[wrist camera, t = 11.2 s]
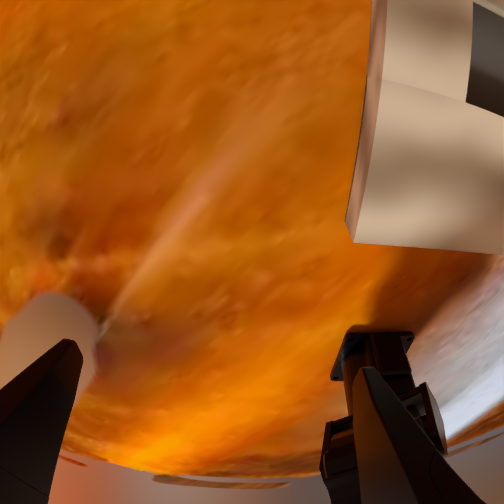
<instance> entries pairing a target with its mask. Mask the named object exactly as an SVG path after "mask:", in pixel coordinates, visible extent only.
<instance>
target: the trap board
mask: <svg viewBox="0 0 504 504" xmlns="http://www.w3.org/2000/svg"><path fill="white" fill-rule="evenodd" d="M345 223H346V226H347V228H348V230H349V233H350V235H351V238H352V240H353V242H354V243H367V244H380V245H393V246H405V247H417V248H429V249H441V250H452V251H464V252H475V253H485V254H496V255H504V0H372V15H371V32H370V46H369V59H368V70H367V80H366V89H365V98H364V106H363V114H362V122H361V129H360V136H359V143H358V150H357V156H356V162H355V168H354V174H353V180H352V186H351V191H350V197H349V202H348V208H347V213H346V218H345Z"/></svg>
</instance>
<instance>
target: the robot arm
mask: <svg viewBox="0 0 504 504" xmlns="http://www.w3.org/2000/svg"><path fill="white" fill-rule="evenodd" d="M350 338H351V339H350ZM414 338H415V337H414V334H413V333H412V332H387V333H348V334H346V335H345V337H344V340H343V343H342V345H341V348H340V351H339V354H338V356H337V359H336V361H335V364H334V367H333V369H332V372H331V374H330V378H331V380H332V381H344V388H345V394H346V401H347V408H348V415H349V416H347V417H344V418H342V419H339V420H336V421H330V422H327V423H326V426H325V432H324V440H323V447H322V454H321V460H320V467H319V469H320V472H321V475H322V478H323V481H324V484H325V485H326V487H327V489H328V492H329V495H330V499H331V504H486V503H485V502H484V501H482V500H481V499H480V498H479V497H478V496H477V495H476V494H475V493H474V492H473V491H472V489H471V488H470V487H468V485H467V484H466V483H465V482H464V481H463V480H462V479H461V478H460V477H459V476H458V474H457V473H456V472H455V471H454V470H453V469H452V468H451V467H450V465H449V464H448V463H447V461H446V460H445V459H444V458H443V457H445V456H447V455H448V452H447V444H446V437H445V430H444V423H443V420H442V417H441V414H440V411H439V408H438V405H437V402H436V400H435V398H434V396H433V394H432V392H431V391H430V389H429V387H428V385H427V383H426V382H424V383H422V384H420V385H419V386H418V387H415V383H414V380H413V377H412V374H411V372H412V370H411V367H410V364H409V361H408V358H407V355H406V353H407V351H408V349H409V348H410V346H411V344H412V342H413V340H414ZM82 365H83V356H82V353H81V351H80V349H79V347H78V345H77V343H76V342H75V341H74V340H70V339H62V340H61V341H60V342H59V343H57V344H56V345H55V346H53V347H52V348H51V349H50V350H48V351H47V352H46V353H45V354H43V355H42V356H41V357H40V358H38V359H37V360H36V361H35V362H33V363H32V364H31V365H30V366H28V367H27V368H26V369H25V370H24V371H22V372H21V373H20V374H19V375H17V376H16V377H15V378H14V379H13V380H12V381H10V382H9V383H8V384H6V385H5V386H4V387H3V388H2V389H1V390H0V504H48V500H49V494H50V489H51V485H52V480H53V476H54V472H55V468H56V464H57V459H58V456H59V452H60V448H61V444H62V441H63V437H64V434H65V430H66V427H67V423H68V420H69V417H70V413H71V410H72V407H73V404H74V400H75V396H76V391H77V387H78V382H79V377H80V373H81V368H82ZM424 414H425V415H424ZM422 415H423V416H422Z"/></svg>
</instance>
